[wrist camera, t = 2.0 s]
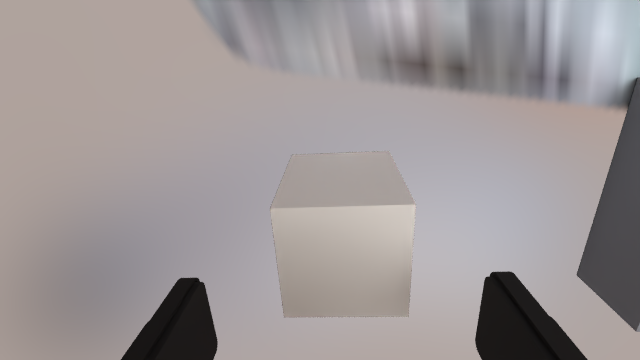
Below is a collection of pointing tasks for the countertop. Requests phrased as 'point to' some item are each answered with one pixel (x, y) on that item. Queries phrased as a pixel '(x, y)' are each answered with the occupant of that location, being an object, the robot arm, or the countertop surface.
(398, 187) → the cube
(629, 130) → the plinth
